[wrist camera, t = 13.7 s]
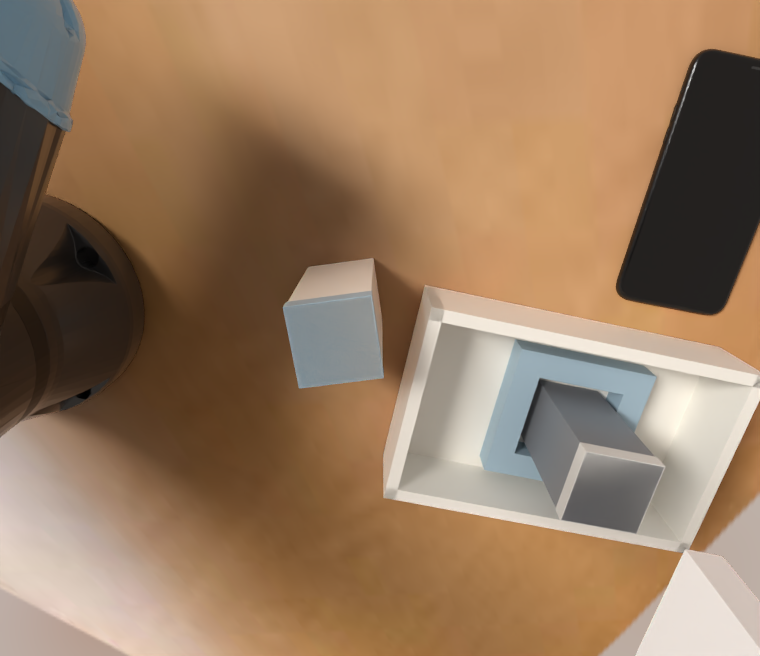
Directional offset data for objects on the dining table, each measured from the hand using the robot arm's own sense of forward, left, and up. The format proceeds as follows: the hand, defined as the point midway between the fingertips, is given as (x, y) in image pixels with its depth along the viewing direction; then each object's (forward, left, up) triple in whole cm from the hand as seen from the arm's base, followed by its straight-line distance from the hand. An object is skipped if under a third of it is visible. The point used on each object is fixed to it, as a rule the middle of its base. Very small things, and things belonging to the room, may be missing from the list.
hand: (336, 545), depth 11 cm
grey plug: (+16, -8, -28) cm, 33 cm away
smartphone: (+21, +9, -29) cm, 37 cm away
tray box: (+15, -8, -29) cm, 33 cm away
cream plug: (-1, -3, -29) cm, 29 cm away
